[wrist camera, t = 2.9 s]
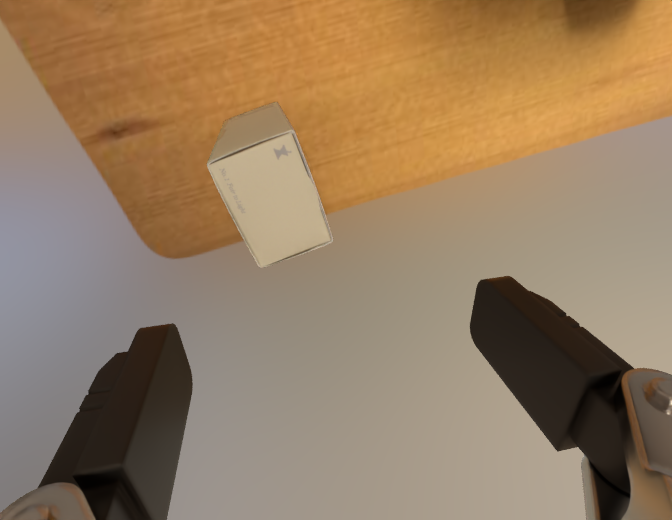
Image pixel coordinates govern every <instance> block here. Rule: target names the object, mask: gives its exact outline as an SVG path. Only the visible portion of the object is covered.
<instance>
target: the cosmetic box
mask: <svg viewBox="0 0 672 520" xmlns="http://www.w3.org/2000/svg"><path fill="white" fill-rule="evenodd" d="M207 167H208V170H209V172H210V174H211V176H212V179H213V180H214V183H215V185H216V187H217V189H218V191H219V193H220V195H221V197H222V199H223V201H224V203H225V205H226V207H227V209H228V211H229V213H230V215H231V217H232V219H233V221H234V223H235V225H236V226H237V228H238V230H239V232H240V234H241V236H242V238H243V239H244V241H245V243H246V245H247V247H248V249H249V250H250V252H251V254H252V256H253V258H254V260H255V261H256V263H257V265H258V266H259V268H265V267H267V266H271V265H273V264H276V263H279V262H282V261H285V260H288V259H290V258H293V257H296V256H299V255H302V254H304V253H307V252H310V251H313V250H315V249H318V248H321V247H323V246H326V245H328V244H331V243H332V242H333V236H332V233H331V229H330V226H329V223H328V221H327V217H326V214H325V211H324V208H323V205H322V202H321V199H320V197H319V194H318V191H317V188H316V186H315V183H314V180H313V178H312V175H311V172H310V169H309V167H308V164H307V161H306V159H305V156H304V154H303V151H302V148H301V146H300V143H299V141H298V138H297V135H296V133H295V130H294V129H293V127H292V125H291V124H290V122H289V120H288V119H287V117H286V115H285V114H284V112H283V110H282V109H281V107H280V105H279V104H278V102H274V103H271V104H268V105H265V106H262V107H259V108H256V109H254V110H251V111H248V112H245V113H243V114H240V115H237V116H235V117H233V118H230V119H228V120H225V121H224V123H223V125H222V128H221V130H220V133H219V135H218V137H217V140H216V143H215V145H214V148H213V150H212V153H211V155H210V157H209V160H208V162H207Z"/></svg>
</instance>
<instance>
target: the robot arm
mask: <svg viewBox="0 0 672 520" xmlns="http://www.w3.org/2000/svg"><path fill="white" fill-rule="evenodd" d="M470 332H471V336H472V339H473V341H474V344H475V345H476V347H477V348H478V349H479V351H480V352H481V353H482V354H483V356H484V357H485V358H486V360H487V361H488V362H489V364H490V365H491V366H492V367H493V369H494V370H495V371H496V373H497V374H498V375H499V377H500V378H501V379H502V380H503V382H504V383H505V384H506V386H507V387H508V388H509V389H510V391H511V392H512V393H513V395H514V396H515V397H516V399H517V400H518V401H519V402H520V404H521V405H522V406H523V408H524V409H525V410H526V411H527V413H528V414H529V415H530V417H531V418H532V419H533V421H534V422H535V423H536V424H537V426H538V427H539V428H540V430H541V431H542V432H543V433H544V435H545V436H546V437H547V439H548V440H549V441H550V442H551V444H552V445H553V446H554V448H555V449H556V450H557V451H561V450H566V449H570V448H575V447H579V449H580V450H581V451H582V452H583V453H584V454H585V455H584V457H583V459H582V463H581V468H582V479H583V489H584V500H585V510H586V520H672V375H670V374H668V373H665V372H662V371H658V370H653V369H647V368H637V369H634V368H633V367H632V366H631V365H629V364H628V363H627V362H626V361H624V360H623V359H622V358H621V357H619V356H618V355H617V354H616V353H615V352H613V351H612V350H611V349H609V348H608V347H607V346H606V345H605V344H603V343H602V342H601V341H600V340H598V339H597V338H596V337H594V336H593V335H592V334H591V333H590V332H589V331H587V330H586V329H585V328H583V327H580V326H579V323H577V322H576V321H575V320H574V319H572V318H571V317H570V316H566V313H565V312H564V311H563V310H561V309H560V308H559V307H558V306H556V305H555V304H554V303H553V302H551V301H550V300H548V299H545V298H544V297H542V296H540V295H538V294H535V293H533V292H531V291H528V290H527V289H525V288H524V287H523V286H522V285H521V284H520V283H518V282H517V281H516V280H515V279H513V278H512V277H510V276H504V277H497V278H490V279H484V280H481V281H480V282H479V283H478V285H477V288H476V294H475V300H474V305H473V310H472V316H471V322H470ZM191 395H192V374H191V369H190V366H189V362H188V359H187V356H186V353H185V350H184V347H183V344H182V341H181V338H180V335H179V332H178V329H177V327H176V325H175V324H166V325H159V326H152V327H146V328H140V329H139V330H138V331H137V333H136V335H135V337H134V339H133V341H132V344H131V346H130V348H129V351H128V352H122V353H117V354H116V355H115V356H114V357H112V359H111V360H109V361H108V363H106V364H105V365H104V366H103V367H102V368H101V369H100V371H99V372H98V373H97V375H96V377H95V379H94V381H93V383H92V385H91V387H90V389H89V394H88V395H86V396H85V398H84V401H83V402H82V404H81V406H80V408H79V409H80V412H78V413H77V414H76V416H75V418H74V420H73V422H72V423H71V425H70V427H69V429H68V431H67V433H66V435H65V437H64V439H63V441H62V443H61V445H60V447H59V448H58V450H57V452H56V454H55V456H54V459H53V460H52V462H51V464H50V466H49V468H48V470H47V472H46V474H45V475H44V477H43V479H42V481H41V483H40V485H39V486H38V488H37V489H35V490H33V491H31V492H29V493H27V494H25V495H24V496H23V497H20V498H19V499H18V500H16V501H15V502H13V503H12V504H11V505H9V506H8V507H7V508H6V509H5V510H3V511H2V512H1V513H0V520H167V515H168V510H169V505H170V500H171V495H172V490H173V485H174V480H175V475H176V470H177V465H178V460H179V455H180V450H181V445H182V440H183V435H184V430H185V425H186V420H187V415H188V410H189V405H190V400H191Z"/></svg>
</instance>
